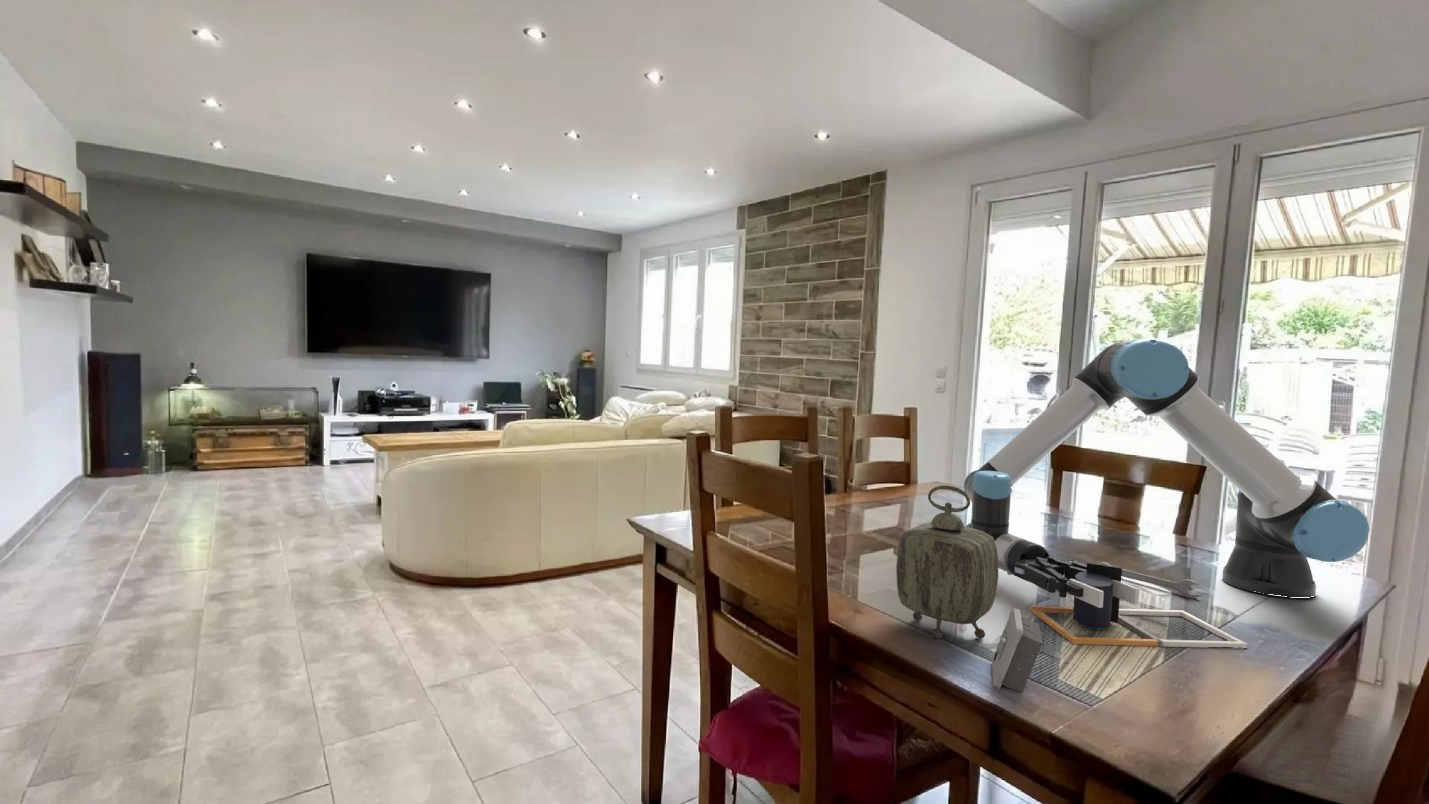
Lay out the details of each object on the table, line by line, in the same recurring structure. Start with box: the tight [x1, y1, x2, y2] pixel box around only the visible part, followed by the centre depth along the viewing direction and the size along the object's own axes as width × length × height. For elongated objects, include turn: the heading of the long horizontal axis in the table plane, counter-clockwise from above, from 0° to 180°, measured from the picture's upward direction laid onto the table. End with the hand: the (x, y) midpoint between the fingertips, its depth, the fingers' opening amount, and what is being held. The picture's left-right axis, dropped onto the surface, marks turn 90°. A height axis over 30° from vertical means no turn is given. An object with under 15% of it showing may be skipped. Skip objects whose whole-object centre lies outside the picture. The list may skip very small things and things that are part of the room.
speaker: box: [1072, 562, 1123, 631], centre depth 114 cm, size 8×6×10 cm
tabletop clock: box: [895, 485, 999, 640], centre depth 108 cm, size 14×9×25 cm, turn 50°
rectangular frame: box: [1029, 605, 1248, 649], centre depth 114 cm, size 28×15×1 cm, turn 90°
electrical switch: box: [991, 607, 1043, 694], centre depth 93 cm, size 9×5×9 cm, turn 158°
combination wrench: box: [1099, 561, 1202, 600], centre depth 138 cm, size 4×1×20 cm
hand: (1119, 598), depth 108 cm, fingers closed on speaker, 7 cm apart
